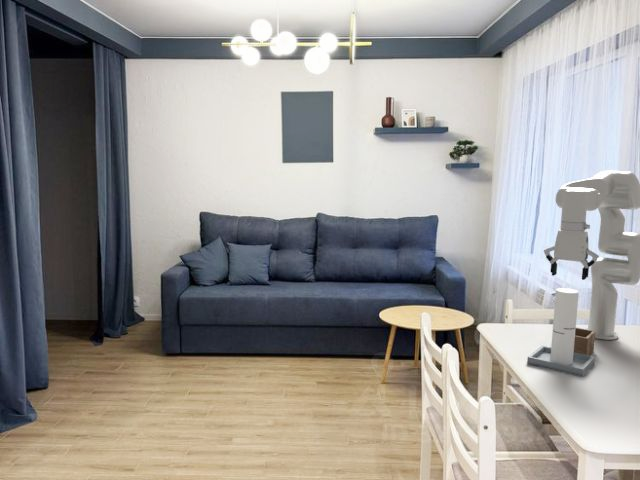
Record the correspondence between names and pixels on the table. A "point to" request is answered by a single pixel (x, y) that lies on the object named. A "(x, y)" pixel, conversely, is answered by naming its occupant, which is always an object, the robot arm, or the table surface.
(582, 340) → the walnut box
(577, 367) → the slate tray
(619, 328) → the table surface
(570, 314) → the cylindrical container
